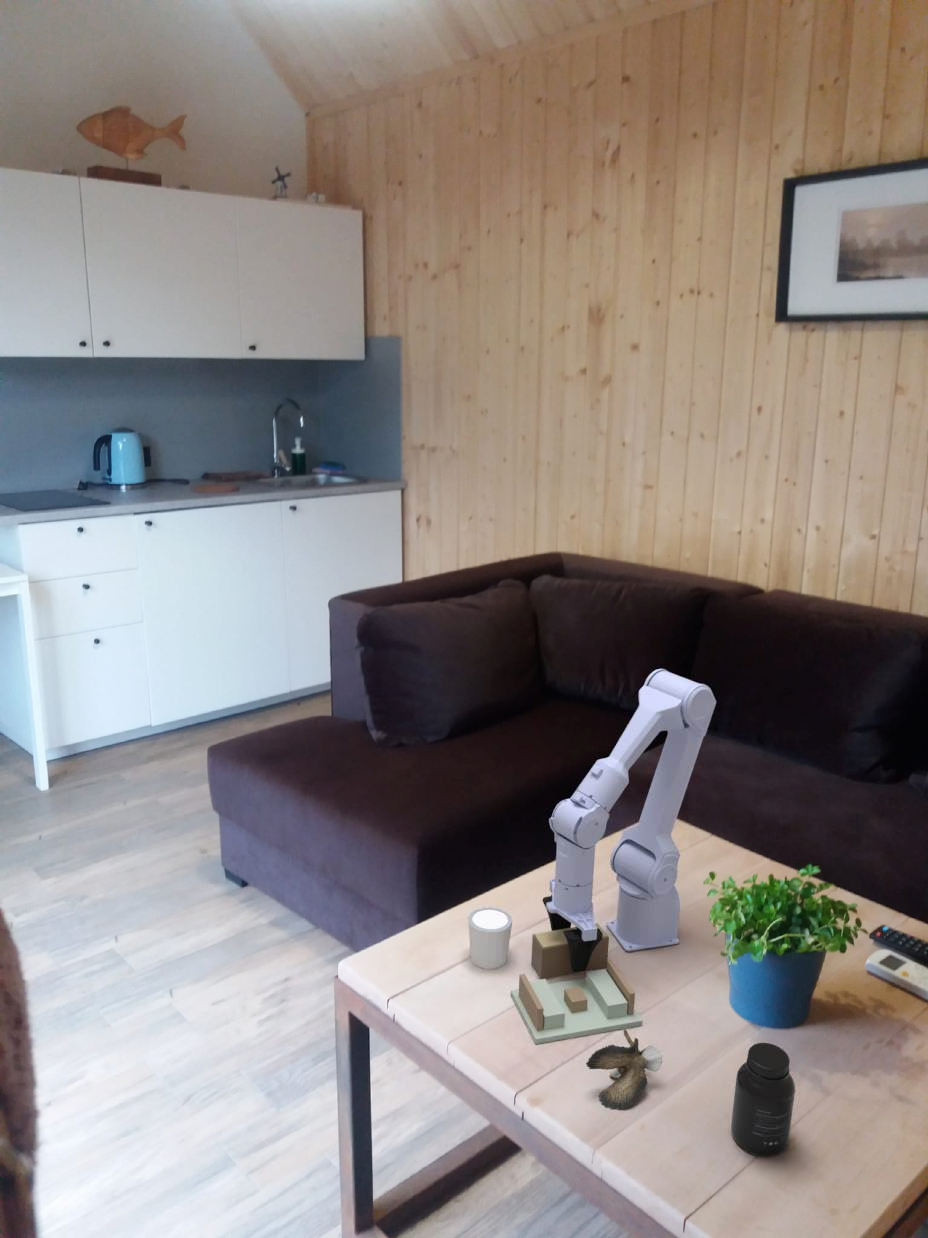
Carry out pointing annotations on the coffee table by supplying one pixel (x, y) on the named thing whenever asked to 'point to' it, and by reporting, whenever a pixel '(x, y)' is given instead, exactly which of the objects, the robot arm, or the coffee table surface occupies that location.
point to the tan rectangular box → (563, 954)
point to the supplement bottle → (763, 1101)
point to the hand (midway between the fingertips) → (569, 955)
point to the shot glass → (489, 937)
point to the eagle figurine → (625, 1071)
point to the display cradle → (576, 1005)
